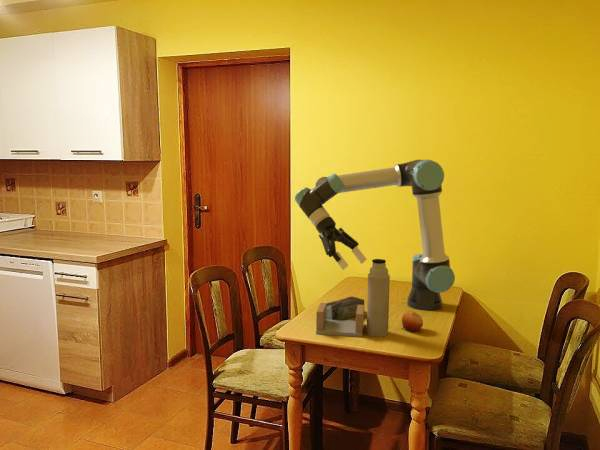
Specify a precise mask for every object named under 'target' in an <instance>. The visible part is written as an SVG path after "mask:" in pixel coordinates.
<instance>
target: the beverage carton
mask: <svg viewBox="0 0 600 450" xmlns="http://www.w3.org/2000/svg"><path fill="white" fill-rule="evenodd" d="M326 303H327V317H326V319H329V320H346V319H350V318H352V317H353V318H354V317H356V311H357V306H358V305H364V306H365V298H364V299H362V298H359V297H356V296H348V297H345V298H342V299H339V300H334V301H330V302H326Z"/></svg>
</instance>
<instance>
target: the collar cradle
mask: <svg viewBox="0 0 600 450" xmlns="http://www.w3.org/2000/svg"><path fill="white" fill-rule="evenodd" d="M327 303H328V302H320V304H319V306H318V308H317V310H316V325H315V326H316V327H315V328H316V330H315V334H316V335H328V336H329V335H330V336H345V337H356V338H357V337H358V338H361V337H363V329H364V321H365V320H364V318H365V316H364V315H365V304H364V305H358V306H357V311H356V316H355V320H346V319H343V320H329V319H326V317H327Z"/></svg>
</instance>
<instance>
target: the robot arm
mask: <svg viewBox="0 0 600 450" xmlns="http://www.w3.org/2000/svg"><path fill="white" fill-rule="evenodd" d="M444 179H445V172H444V169H443V167H442V166H441V164H439V163H438V162H437V161H434V160H432V159H415V160H411V161H407V162H404V163H398V164H395V165H394V166H393V167H388V168H380V169H379V168H378V169H374V170H367V171H359V172H351V173H346V174H345V173H344V174H339V175H338V174H337V173H332V174H330V175H328V176H321V177H320V178H318V179H317V180H316V182H315V186H314V187H313V188H312V189H311V188H309V187H303V188H302V189H300V190H298V192H296V193H295V195H294V201H295V202H296V204H297V206H299V208H300V209H301V211H302V212H303V214H305V216H306V217H307V219H308V220H309V221H310V222H311V225H313V227H315V230H316V231H317V232H318V233H319V235H318V238H319V239H320V241H321V243H322V247H323V249H324V251H325V254H326V255H327V256H328V257H329V258H331V257H333V259H334V260H335V261H336V263H337V264H338V265H339V266H340V268H341V270H343V271H345V269H346V268H347V267H348V266H349V264H348V263H347V261H346V260H345V259H344V257H343V256H342V255H341V253H340V252H339V251H337V247H336V242H337V243H341V244H343V245H344V246H346V247H347V248H350V249H351V252H352V253H353V255H354V256H355V258H356V259H357V260H358V261H359V263H360V264H364V263H365V262H366V261H367V258H366V256H365V254H363V252H362V251H361V250H360V249H359V247H358V246H359V245H360V244H359V242H358V241H357V240H355V239H354V238H353V237H352V236H351V235H349V234H348V233H347V232H346V231H344V229H343V228H342V227H339V229H338V228H336V225H337V224H336V221H335V220H334V219H333V218H332V216H330V214H329V212H328V210H326V208H325V207H324V206H323V205H324V204H326V203H327V202H328V201H330V200H332V199H333V198H334V197H335V196H336V195H337V194H343V193H350V192H358V191H363V190H370V189H378V188H384V187H391V186H397V188H401V187H411V192H412V196H413V197H414V198H416V201H417V203H416V204H417V209H418V220H419V226H420V227H419V228H420V236H421V246H422V253H416V254H414V255H413V257H412V260H411V261H412V262H411V263H412V267H411V269H412V272H411V273H412V274H411V276H412V277H411V288H410V292H409V293H408V296H407V299H406V301H407V302H406V303H407V306H408V307H410V308H412V309H416V310H422V311H423V310H425V311H432V310H433V311H435V310H439V309H441V308H443V299H442V295H441V293H446V292H448V291H449V290H450V289H451V288H452V287H453V286H454V283H455V280H456V276H455V275H456V274H455V272H454V271H453V269H452V268H451V263H450V257H449V256H448V255H447V254H446V252H445V244H444V243H445V242H444V234H443V224H442V215H441V206H440V197H439V196H440V195H441V193H443V187H442V186H443V185H442V184H443V182H444Z"/></svg>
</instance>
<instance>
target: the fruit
mask: <svg viewBox="0 0 600 450" xmlns="http://www.w3.org/2000/svg"><path fill="white" fill-rule="evenodd" d="M401 323H402V324H401V326H402V328H401V330H403V329H405V330H406V331H409V332H413V333H414V332H417V331H419V330H420V329H421V328H422V327H423V325H424V321H423V318H422V316H421V315H420V314H419V313H417V312H416V311H412V310H409V311H406V312H405V313H404V314H403V315H402V317H401Z"/></svg>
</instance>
